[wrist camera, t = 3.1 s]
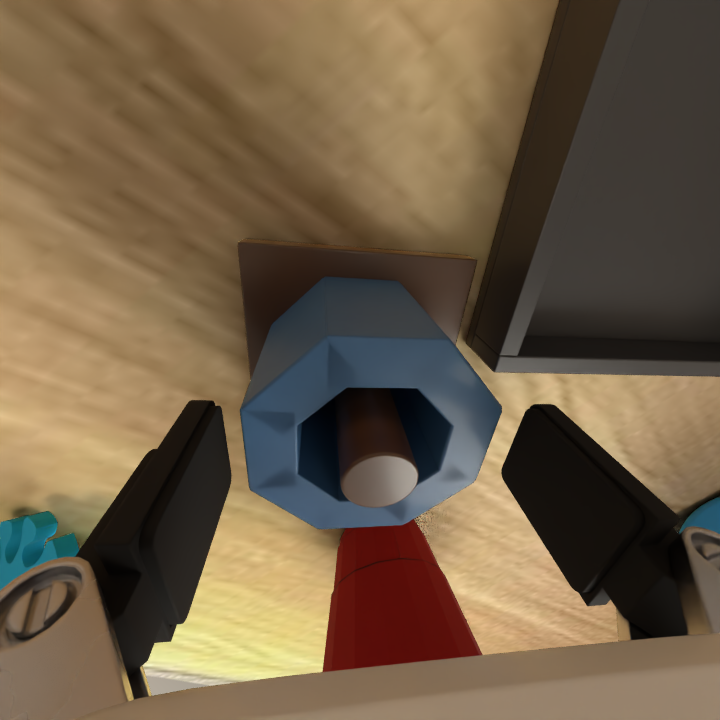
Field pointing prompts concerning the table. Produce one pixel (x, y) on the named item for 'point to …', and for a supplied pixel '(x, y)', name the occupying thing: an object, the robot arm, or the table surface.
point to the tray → (613, 201)
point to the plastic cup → (392, 602)
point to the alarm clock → (705, 517)
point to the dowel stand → (353, 405)
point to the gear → (31, 545)
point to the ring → (361, 370)
